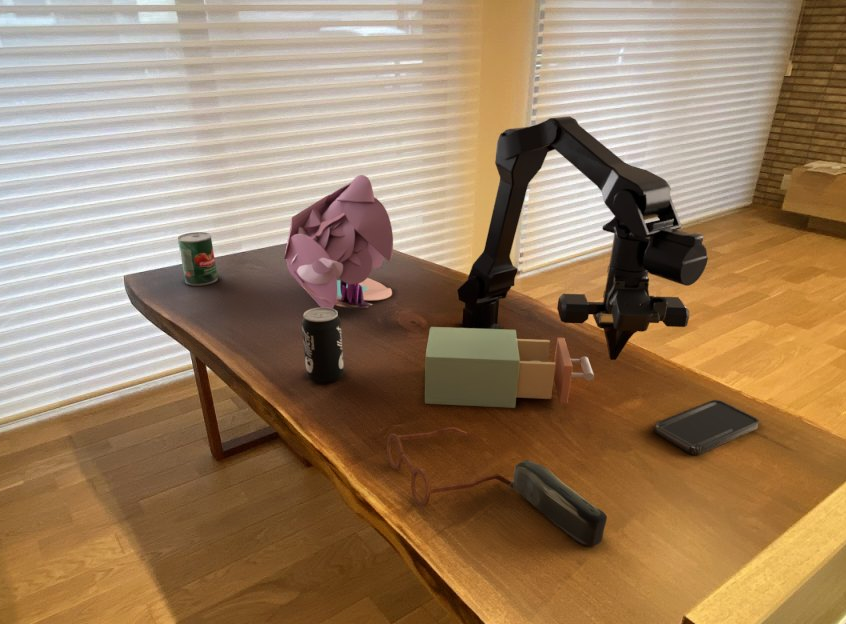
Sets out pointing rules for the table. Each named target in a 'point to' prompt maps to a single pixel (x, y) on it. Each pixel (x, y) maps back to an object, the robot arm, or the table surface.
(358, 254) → the flower arrangement
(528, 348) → the drawer
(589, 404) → the table surface
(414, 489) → the glasses
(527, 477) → the dark grey long block
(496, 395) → the cabinet
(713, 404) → the phone
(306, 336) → the beverage can
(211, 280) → the canned tomato
